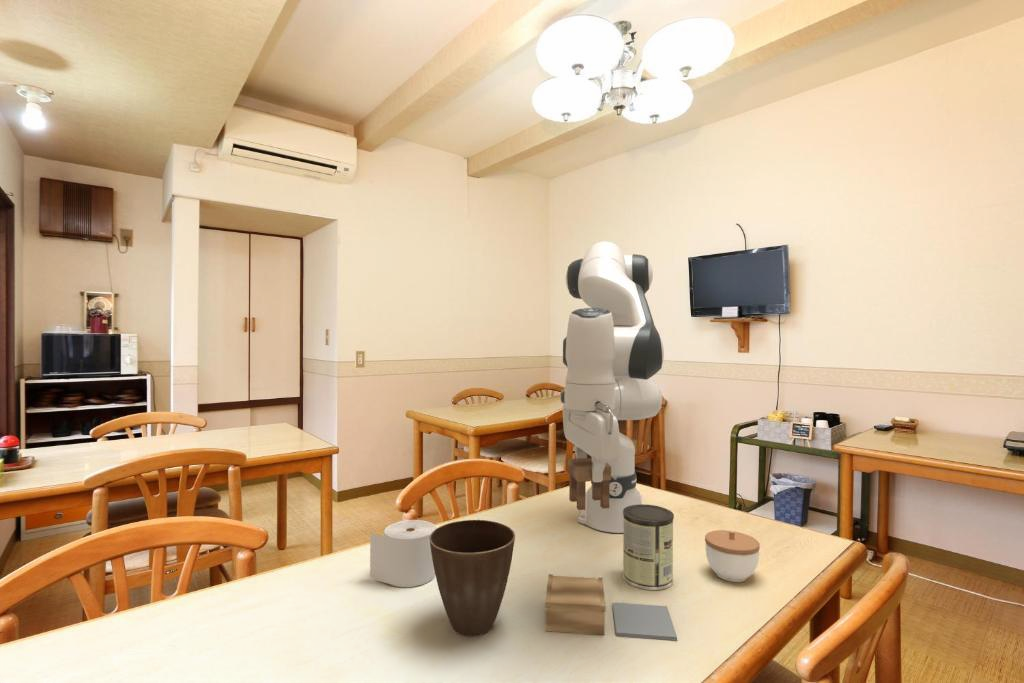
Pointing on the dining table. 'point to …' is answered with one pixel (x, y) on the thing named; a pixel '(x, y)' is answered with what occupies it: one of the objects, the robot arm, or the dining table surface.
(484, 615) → the plant pot
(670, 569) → the coffee can
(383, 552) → the toilet tissue
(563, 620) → the tan wooden pedestal
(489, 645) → the dining table surface
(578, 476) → the tan pegged block
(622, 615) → the mat
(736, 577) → the lidded jar
